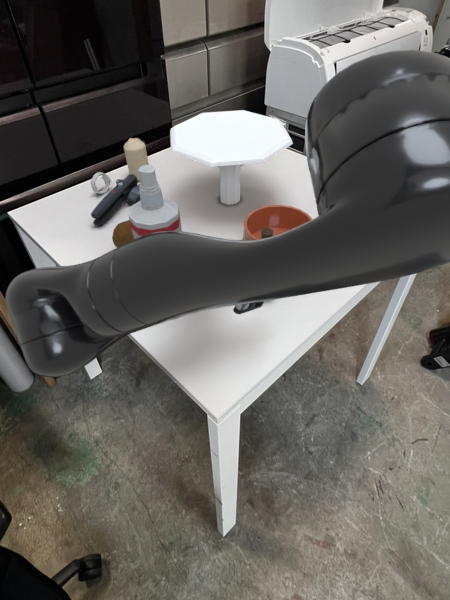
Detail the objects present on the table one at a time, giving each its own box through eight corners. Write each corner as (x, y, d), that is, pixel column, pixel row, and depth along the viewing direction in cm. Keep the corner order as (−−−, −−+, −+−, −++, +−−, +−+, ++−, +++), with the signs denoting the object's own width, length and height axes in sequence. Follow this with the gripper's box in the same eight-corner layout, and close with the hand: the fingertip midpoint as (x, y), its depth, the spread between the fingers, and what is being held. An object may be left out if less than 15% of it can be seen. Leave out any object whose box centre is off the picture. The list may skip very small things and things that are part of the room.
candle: (136, 183, 99) (128, 146, 92) (126, 175, 102) (118, 139, 95) (154, 176, 101) (148, 140, 94) (144, 169, 104) (137, 133, 97)
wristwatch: (113, 188, 97) (108, 171, 94) (99, 197, 94) (94, 179, 91) (105, 186, 98) (100, 168, 95) (91, 195, 95) (86, 176, 92)
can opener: (130, 188, 97) (125, 168, 93) (152, 194, 95) (148, 174, 91) (83, 224, 87) (76, 202, 83) (106, 231, 84) (100, 210, 80)
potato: (116, 241, 82) (107, 211, 76) (172, 235, 83) (168, 204, 77) (115, 265, 76) (105, 234, 71) (175, 258, 77) (171, 227, 72)
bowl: (314, 233, 82) (319, 210, 78) (305, 275, 73) (310, 251, 69) (252, 224, 85) (253, 200, 81) (236, 263, 76) (236, 239, 72)
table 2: (195, 167, 105) (190, 103, 93) (294, 178, 99) (302, 112, 87) (156, 222, 86) (143, 152, 74) (275, 240, 81) (282, 168, 69)
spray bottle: (151, 279, 73) (124, 156, 55) (189, 278, 73) (175, 155, 55) (146, 309, 67) (114, 183, 49) (187, 308, 67) (170, 181, 49)
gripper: (225, 297, 43) (292, 273, 56) (150, 234, 49) (226, 225, 61) (204, 343, 47) (271, 312, 60) (137, 279, 53) (211, 263, 65)
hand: (248, 268), depth 61 cm, fingers open, 8 cm apart
